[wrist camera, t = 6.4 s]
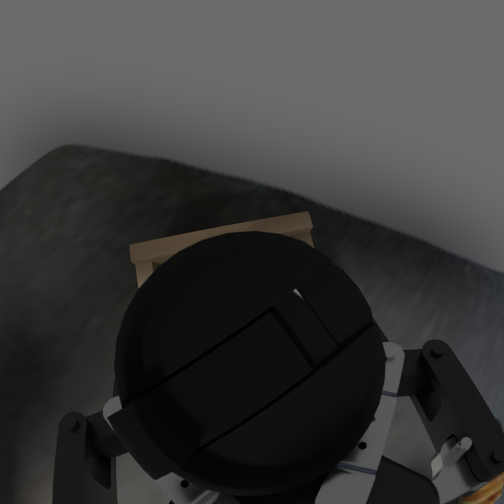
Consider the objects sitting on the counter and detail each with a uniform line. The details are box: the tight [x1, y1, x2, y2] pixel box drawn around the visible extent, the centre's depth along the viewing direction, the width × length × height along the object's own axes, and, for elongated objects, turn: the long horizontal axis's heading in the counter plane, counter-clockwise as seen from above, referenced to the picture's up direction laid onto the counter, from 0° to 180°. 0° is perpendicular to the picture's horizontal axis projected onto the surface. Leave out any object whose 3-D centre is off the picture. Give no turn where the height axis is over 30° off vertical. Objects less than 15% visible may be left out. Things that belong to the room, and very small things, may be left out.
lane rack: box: [129, 211, 314, 288], centre depth 22 cm, size 15×12×6 cm
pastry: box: [458, 472, 504, 504], centre depth 20 cm, size 9×7×4 cm
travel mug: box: [107, 231, 386, 496], centre depth 16 cm, size 6×7×20 cm
